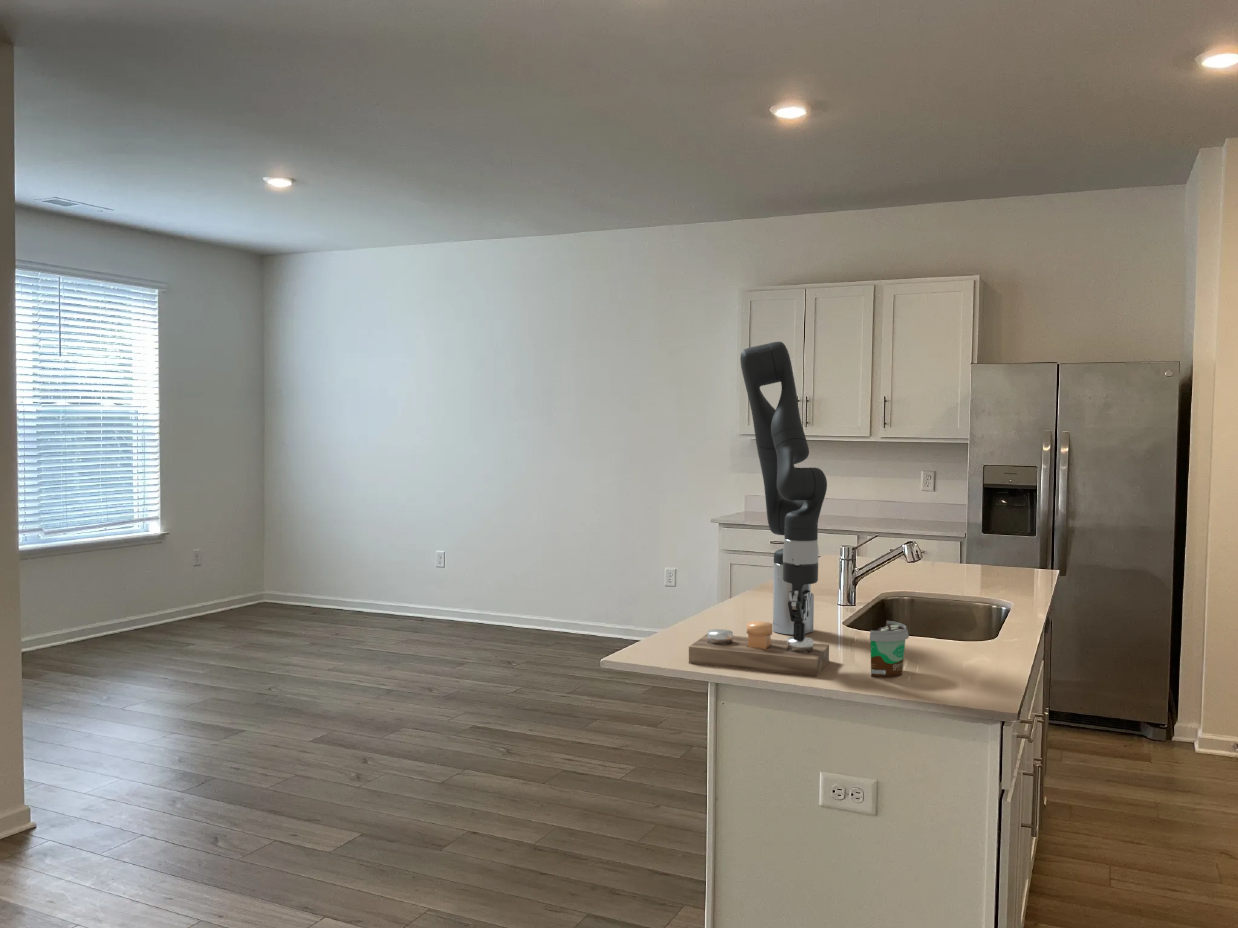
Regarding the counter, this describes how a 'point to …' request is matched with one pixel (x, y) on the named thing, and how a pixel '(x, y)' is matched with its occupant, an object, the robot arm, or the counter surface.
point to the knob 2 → (800, 645)
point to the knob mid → (759, 634)
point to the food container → (888, 650)
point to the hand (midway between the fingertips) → (799, 639)
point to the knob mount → (760, 656)
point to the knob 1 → (720, 636)
